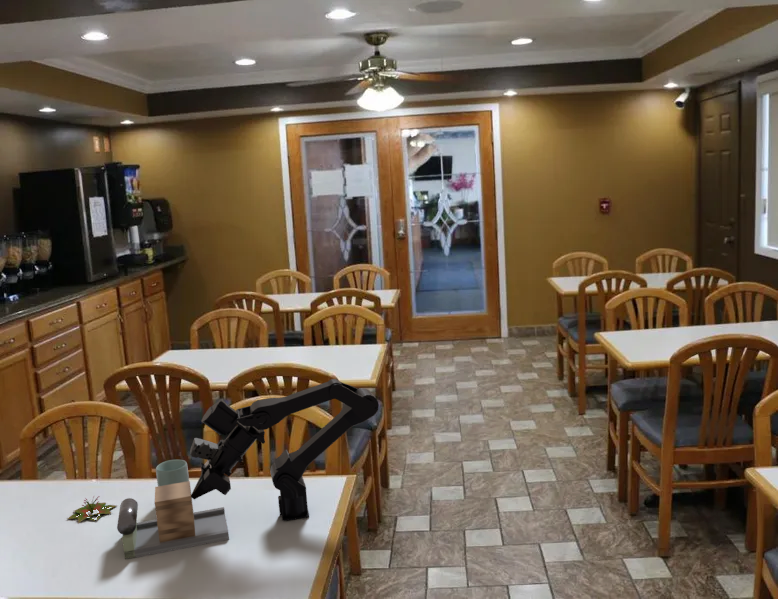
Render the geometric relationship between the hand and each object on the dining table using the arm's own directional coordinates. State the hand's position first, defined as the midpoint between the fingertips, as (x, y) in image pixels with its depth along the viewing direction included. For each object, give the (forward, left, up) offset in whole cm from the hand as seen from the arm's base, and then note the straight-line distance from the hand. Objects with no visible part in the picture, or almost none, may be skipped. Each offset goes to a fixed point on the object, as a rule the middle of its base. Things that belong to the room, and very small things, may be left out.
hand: (192, 497), depth 176 cm
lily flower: (+27, -20, -9) cm, 35 cm away
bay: (+4, 0, -9) cm, 10 cm away
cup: (+6, -20, -9) cm, 22 cm away
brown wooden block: (+4, 0, -8) cm, 9 cm away
